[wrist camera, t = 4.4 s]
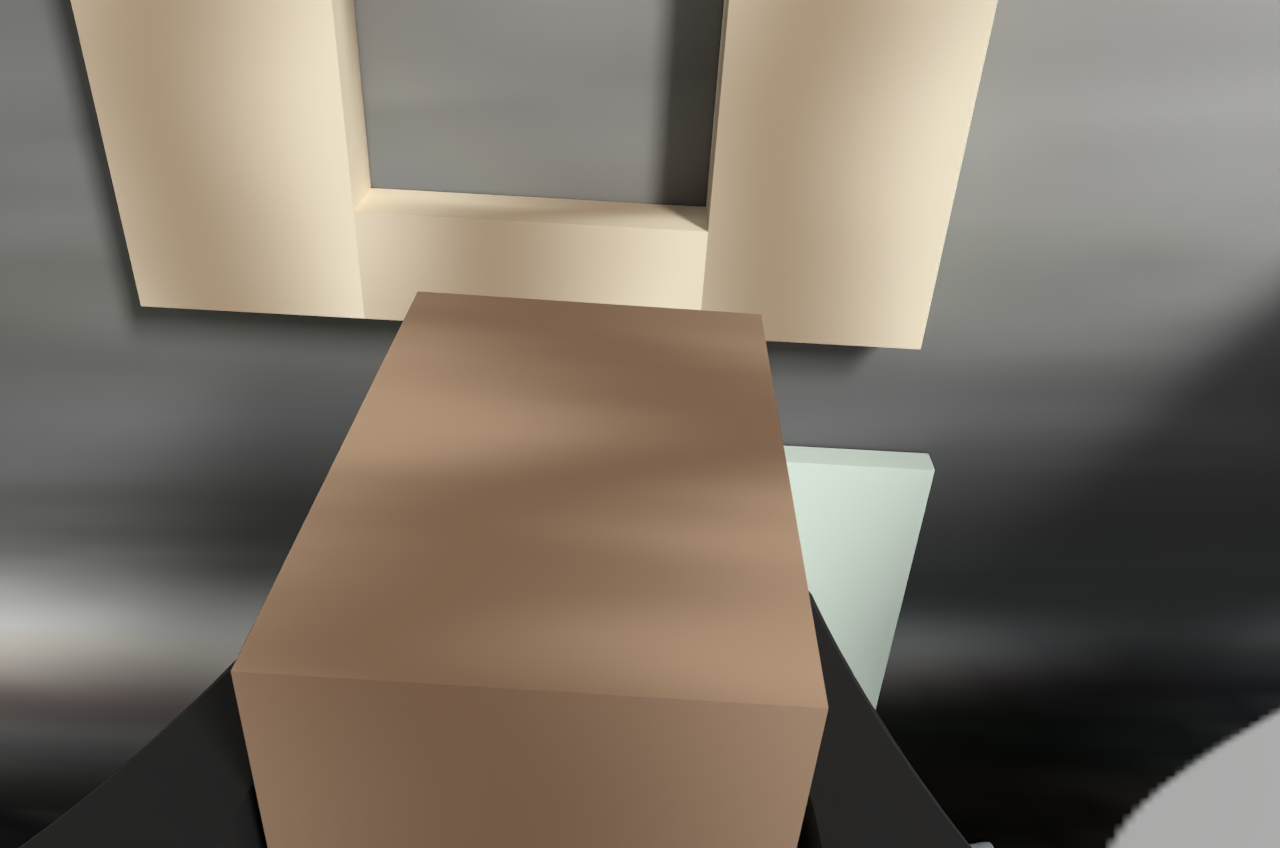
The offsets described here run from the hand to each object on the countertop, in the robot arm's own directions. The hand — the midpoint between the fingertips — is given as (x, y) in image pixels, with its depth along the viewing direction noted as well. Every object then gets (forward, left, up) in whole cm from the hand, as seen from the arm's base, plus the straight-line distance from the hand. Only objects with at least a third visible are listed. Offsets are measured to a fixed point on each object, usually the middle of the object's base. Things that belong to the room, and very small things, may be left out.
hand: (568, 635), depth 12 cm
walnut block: (0, 0, -2) cm, 2 cm away
